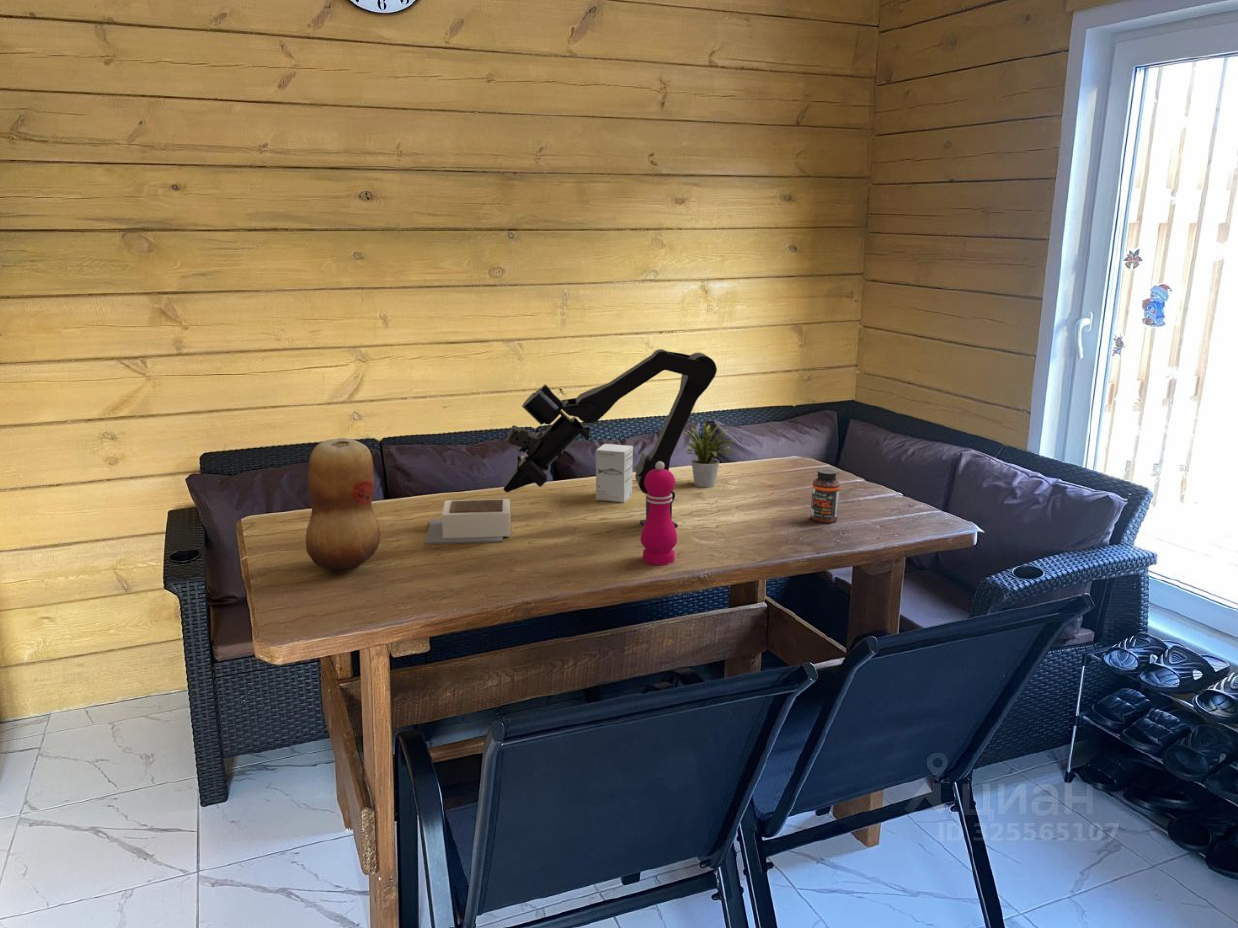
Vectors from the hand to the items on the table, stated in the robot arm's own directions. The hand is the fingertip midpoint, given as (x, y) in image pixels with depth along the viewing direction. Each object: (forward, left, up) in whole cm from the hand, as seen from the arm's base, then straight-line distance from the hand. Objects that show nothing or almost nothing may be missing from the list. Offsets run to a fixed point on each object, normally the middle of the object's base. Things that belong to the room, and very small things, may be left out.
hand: (504, 490), depth 205 cm
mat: (+3, +8, -9) cm, 12 cm away
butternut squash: (-10, +35, -9) cm, 38 cm away
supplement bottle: (-21, -68, -9) cm, 72 cm away
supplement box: (+14, -32, -9) cm, 36 cm away
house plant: (+15, -57, -9) cm, 59 cm away
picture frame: (0, -1, -6) cm, 6 cm away
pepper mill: (-30, -22, -9) cm, 38 cm away
